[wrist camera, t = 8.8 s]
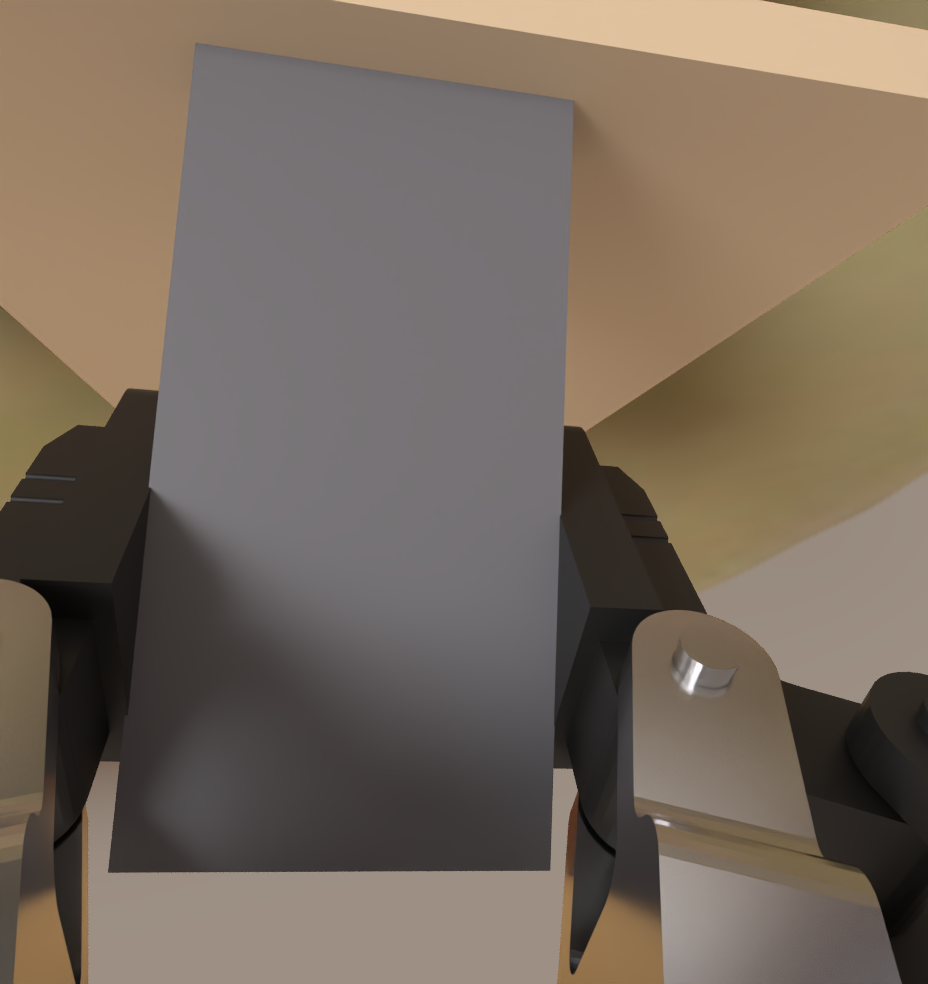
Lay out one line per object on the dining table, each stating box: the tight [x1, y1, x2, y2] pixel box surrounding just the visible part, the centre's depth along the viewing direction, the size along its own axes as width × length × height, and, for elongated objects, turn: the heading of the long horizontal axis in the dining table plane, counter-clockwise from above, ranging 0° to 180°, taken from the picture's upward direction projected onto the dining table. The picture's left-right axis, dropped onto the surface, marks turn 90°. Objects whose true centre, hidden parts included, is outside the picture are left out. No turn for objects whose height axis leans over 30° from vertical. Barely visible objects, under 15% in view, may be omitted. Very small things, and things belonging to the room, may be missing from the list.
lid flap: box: [0, 0, 928, 873], centre depth 17 cm, size 20×14×9 cm
